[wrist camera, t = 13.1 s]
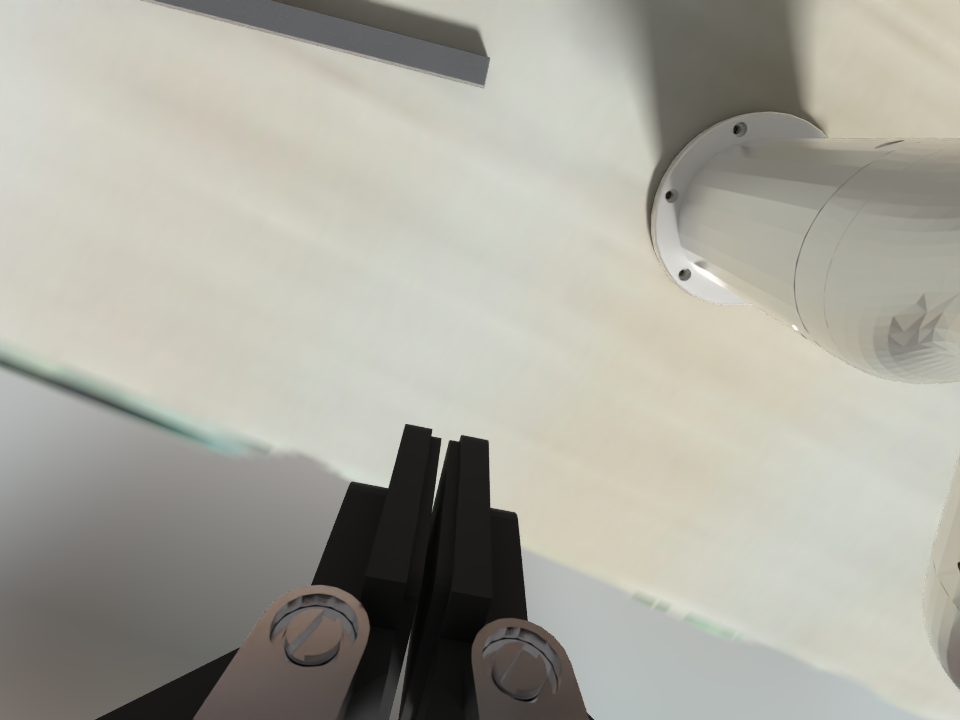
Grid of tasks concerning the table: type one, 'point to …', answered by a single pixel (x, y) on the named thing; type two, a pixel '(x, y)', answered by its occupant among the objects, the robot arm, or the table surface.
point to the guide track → (342, 36)
